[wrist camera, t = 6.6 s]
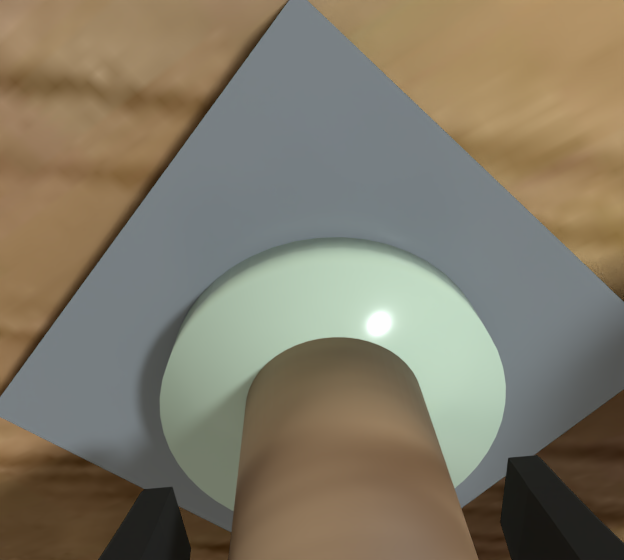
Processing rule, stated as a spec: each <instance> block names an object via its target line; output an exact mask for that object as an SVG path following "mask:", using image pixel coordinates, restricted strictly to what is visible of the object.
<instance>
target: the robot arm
mask: <svg viewBox="0 0 624 560" xmlns="http://www.w3.org/2000/svg"><path fill="white" fill-rule="evenodd" d="M500 523H501V526H502V530H503V533H504V536H505V540H506V543H507V546H508V550H509V553H510V556H511V559H512V560H624V543H623V542H622V541H621V540H620V539H619V538H618V537H617V536H616V535H615V534H614V533H613V532H612V531H611V530H610V529H609V528H608V527H607V526H606V525H604V524H603V523H602V522H601V521H600V520H599V519H598V518H597V517H596V516H595V515H594V514H593V513H592V512H591V511H590V509H589V508H588V507H587V506H586V505H585V504H584V503H583V502H582V501H581V500H580V499H579V498H578V497H577V496H576V495H575V494H574V493H573V492H572V491H571V490H570V489H569V488H568V487H567V486H566V485H565V484H564V483H563V481H562V480H561V479H560V478H559V477H558V476H557V475H556V474H555V473H554V472H553V471H552V470H551V469H550V468H549V467H548V466H547V464H546V463H545V462H544V461H543V460H542V459H541V458H540V457H538V456H537V455H534V456H522V457H510V458H508V463H507V471H506V479H505V488H504V496H503V504H502V512H501V520H500ZM190 552H191V547H190V544H189V541H188V537H187V534H186V530H185V527H184V524H183V520H182V517H181V514H180V510H179V507H178V503H177V500H176V497H175V493H174V490H173V487H163V488H151V489H144V490H143V491H142V492H141V493H140V495H139V496H138V498H137V500H136V501H135V503H134V505H133V506H132V508H131V509H130V511H129V513H128V514H127V516H126V517H125V519H124V521H123V522H122V524H121V525H120V527H119V529H118V530H117V532H116V533H115V535H114V536H113V538H112V539H111V541H110V543H109V544H108V546H107V547H106V549H105V550H104V552H103V553H102V555H101V556H100V558H99V559H98V560H190Z"/></svg>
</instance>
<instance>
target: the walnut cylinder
mask: <svg viewBox="0 0 624 560" xmlns="http://www.w3.org/2000/svg"><path fill="white" fill-rule="evenodd" d="M228 560H479V559H478V556H477V553H476V550H475V547H474V544H473V541H472V539H471V536H470V533H469V530H468V527H467V524H466V521H465V518H464V515H463V512H462V509H461V506H460V503H459V500H458V497H457V494H456V491H455V488H454V486H453V483H452V480H451V477H450V474H449V471H448V468H447V465H446V462H445V459H444V456H443V453H442V450H441V447H440V444H439V441H438V438H437V435H436V433H435V430H434V427H433V424H432V421H431V418H430V415H429V412H428V409H427V406H426V403H425V400H424V397H423V394H422V391H421V388H420V386H419V383H418V380H417V378H416V377H415V375H414V373H413V371H412V370H411V369H410V368H409V366H408V365H407V364H406V363H405V362H404V361H403V360H402V359H401V358H400V357H399V356H397V355H396V354H394V353H393V352H391V351H390V350H388V349H386V348H384V347H382V346H380V345H377V344H375V343H372V342H369V341H365V340H361V339H356V338H347V337H330V338H321V339H316V340H311V341H307V342H304V343H301V344H298V345H295V346H293V347H291V348H289V349H287V350H285V351H283V352H282V353H280V354H279V355H277V356H275V357H274V358H273V359H272V360H271V361H269V362H268V363H267V364H266V365H265V366H264V367H263V368H262V369H261V370H260V371H259V373H258V374H257V376H256V377H255V379H254V380H253V382H252V384H251V386H250V388H249V391H248V395H247V398H246V406H245V415H244V424H243V433H242V441H241V450H240V459H239V468H238V477H237V486H236V495H235V504H234V513H233V522H232V531H231V539H230V548H229V557H228Z"/></svg>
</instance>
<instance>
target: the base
mask: <svg viewBox="0 0 624 560" xmlns="http://www.w3.org/2000/svg"><path fill="white" fill-rule="evenodd" d="M330 337H347V338H356V339H361V340H365V341H369V342H372V343H375V344H377V345H380V346H382V347H384V348H386V349H388V350H390V351H391V352H393V353H394V354H396V355H397V356H399V357H400V358H401V359H402V360H403V361H404V362H405V363H406V364H407V365H408V366H409V368H410V369H411V370H412V371H413V373H414V375H415V377H416V378H417V380H418V383H419V386H420V388H421V391H422V394H423V397H424V400H425V403H426V406H427V409H428V412H429V415H430V418H431V421H432V424H433V427H434V430H435V433H436V435H437V438H438V441H439V444H440V447H441V450H442V453H443V456H444V459H445V462H446V465H447V468H448V471H449V474H450V477H451V480H452V483H453V486H454V488H455V491H456V494H457V497H458V500H459V503H460V506H461V508H462V507H464V506H465V505H466V504H468V503H469V502H470V501H472V500H473V499H475V498H476V497H477V496H479V495H480V494H481V493H483V492H484V491H485V490H487V489H488V488H490V487H491V486H492V485H494V484H495V483H496V482H498V481H499V480H500V479H502V478H503V477H505V476H506V471H507V463H508V458H510V457H522V456H533V455H535V454H536V453H537V452H539V451H540V450H541V449H543V448H544V447H546V446H547V445H548V444H550V443H551V442H552V441H554V440H555V439H556V438H558V437H559V436H561V435H562V434H563V433H565V432H566V431H567V430H569V429H570V428H571V427H573V426H574V425H576V424H577V423H578V422H580V421H581V420H582V419H584V418H585V417H586V416H588V415H589V414H591V413H592V412H593V411H595V410H596V409H597V408H599V407H600V406H602V405H603V404H604V403H606V402H607V401H608V400H610V399H611V398H612V397H614V396H615V395H617V394H618V393H619V392H621V391H622V390H623V389H624V302H623V301H622V300H621V299H620V298H619V297H618V296H617V295H616V294H615V293H614V292H613V291H612V290H611V289H610V288H609V287H608V286H607V285H606V284H605V283H604V282H602V281H601V280H600V279H599V278H598V277H597V276H596V275H595V274H594V273H593V272H592V271H591V270H590V269H589V268H588V267H587V266H586V265H585V264H584V263H583V262H581V261H580V260H579V259H578V258H577V257H576V256H575V255H574V254H573V253H572V252H571V251H570V250H569V249H568V248H567V247H566V246H565V245H564V244H563V243H561V242H560V241H559V240H558V239H557V238H556V237H555V236H554V235H553V234H552V233H551V232H550V231H549V230H548V229H547V228H546V227H545V226H544V225H543V224H542V223H540V222H539V221H538V220H537V219H536V218H535V217H534V216H533V215H532V214H531V213H530V212H529V211H528V210H527V209H526V208H525V207H524V206H523V205H522V204H521V203H519V202H518V201H517V200H516V199H515V198H514V197H513V196H512V195H511V194H510V193H509V192H508V191H507V190H506V189H505V188H504V187H503V186H502V185H501V184H500V183H498V182H497V181H496V180H495V179H494V178H493V177H492V176H491V175H490V174H489V173H488V172H487V171H486V170H485V169H484V168H483V167H482V166H481V165H480V164H479V163H477V162H476V161H475V160H474V159H473V158H472V157H471V156H470V155H469V154H468V153H467V152H466V151H465V150H464V149H463V148H462V147H461V146H460V145H459V144H457V143H456V142H455V141H454V140H453V139H452V138H451V137H450V136H449V135H448V134H447V133H446V132H445V131H444V130H443V129H442V128H441V127H440V126H439V125H438V124H436V123H435V122H434V121H433V120H432V119H431V118H430V117H429V116H428V115H427V114H426V113H425V112H424V111H423V110H422V109H421V108H420V107H419V106H418V105H417V104H415V103H414V102H413V101H412V100H411V99H410V98H409V97H408V96H407V95H406V94H405V93H404V92H403V91H402V90H401V89H400V88H399V87H398V86H397V85H396V84H394V83H393V82H392V81H391V80H390V79H389V78H388V77H387V76H386V75H385V74H384V73H383V72H382V71H381V70H380V69H379V68H378V67H377V66H376V65H375V64H373V63H372V62H371V61H370V60H369V59H368V58H367V57H366V56H365V55H364V54H363V53H362V52H361V51H360V50H359V49H358V48H357V47H356V46H355V45H353V44H352V43H351V42H350V41H349V40H348V39H347V38H346V37H345V36H344V35H343V34H342V33H341V32H340V31H339V30H338V29H337V28H336V27H335V26H334V25H332V24H331V23H330V22H329V21H328V20H327V19H326V18H325V17H324V16H323V15H322V14H321V13H320V12H319V11H318V10H317V9H316V8H315V7H314V6H313V5H311V4H310V3H309V2H308V1H307V0H289V1H288V3H287V4H286V5H285V7H284V8H283V9H282V11H281V12H280V14H279V15H278V16H277V18H276V19H275V20H274V22H273V23H272V25H271V26H270V27H269V29H268V30H267V31H266V33H265V34H264V36H263V37H262V38H261V40H260V41H259V42H258V44H257V45H256V46H255V48H254V49H253V51H252V52H251V53H250V55H249V56H248V57H247V59H246V60H245V62H244V63H243V64H242V66H241V67H240V68H239V70H238V71H237V73H236V74H235V75H234V77H233V78H232V79H231V81H230V82H229V84H228V85H227V86H226V88H225V89H224V90H223V92H222V93H221V95H220V96H219V97H218V99H217V100H216V101H215V103H214V104H213V106H212V107H211V108H210V110H209V111H208V112H207V114H206V115H205V117H204V118H203V119H202V121H201V122H200V123H199V125H198V126H197V127H196V129H195V130H194V132H193V133H192V134H191V136H190V137H189V138H188V140H187V141H186V143H185V144H184V145H183V147H182V148H181V149H180V151H179V152H178V154H177V155H176V156H175V158H174V159H173V160H172V162H171V163H170V165H169V166H168V167H167V169H166V170H165V171H164V173H163V174H162V176H161V177H160V178H159V180H158V181H157V182H156V184H155V185H154V187H153V188H152V189H151V191H150V192H149V193H148V195H147V196H146V198H145V199H144V200H143V202H142V203H141V204H140V206H139V207H138V209H137V210H136V211H135V213H134V214H133V215H132V217H131V218H130V219H129V221H128V222H127V224H126V225H125V226H124V228H123V229H122V230H121V232H120V233H119V235H118V236H117V237H116V239H115V240H114V241H113V243H112V244H111V246H110V247H109V248H108V250H107V251H106V252H105V254H104V255H103V257H102V258H101V259H100V261H99V262H98V263H97V265H96V266H95V268H94V269H93V270H92V272H91V273H90V274H89V276H88V277H87V279H86V280H85V281H84V283H83V284H82V285H81V287H80V288H79V290H78V291H77V292H76V294H75V295H74V296H73V298H72V299H71V301H70V302H69V303H68V305H67V306H66V307H65V309H64V310H63V311H62V313H61V314H60V316H59V317H58V318H57V320H56V321H55V322H54V324H53V325H52V327H51V328H50V329H49V331H48V332H47V333H46V335H45V336H44V338H43V339H42V340H41V342H40V343H39V344H38V346H37V347H36V349H35V350H34V351H33V353H32V354H31V355H30V357H29V358H28V360H27V361H26V362H25V364H24V365H23V366H22V368H21V369H20V371H19V372H18V373H17V375H16V376H15V377H14V379H13V380H12V382H11V383H10V384H9V386H8V387H7V388H6V390H5V391H4V393H3V394H2V395H1V397H0V417H1V418H3V419H5V420H7V421H9V422H11V423H13V424H15V425H17V426H19V427H21V428H23V429H25V430H27V431H29V432H31V433H33V434H35V435H37V436H39V437H41V438H43V439H45V440H47V441H49V442H51V443H53V444H55V445H57V446H59V447H61V448H63V449H65V450H67V451H69V452H71V453H73V454H75V455H77V456H79V457H81V458H83V459H85V460H87V461H89V462H91V463H93V464H95V465H97V466H99V467H101V468H103V469H105V470H107V471H109V472H111V473H113V474H115V475H117V476H119V477H121V478H123V479H125V480H127V481H129V482H131V483H133V484H135V485H137V486H139V487H141V488H143V489H151V488H163V487H173V490H174V493H175V497H176V500H177V503H178V506H179V507H181V508H183V509H185V510H187V511H189V512H191V513H193V514H195V515H197V516H199V517H201V518H203V519H205V520H207V521H209V522H211V523H213V524H215V525H217V526H219V527H221V528H223V529H225V530H227V531H229V532H231V531H232V522H233V513H234V504H235V495H236V486H237V477H238V468H239V459H240V450H241V441H242V433H243V424H244V415H245V406H246V398H247V395H248V391H249V388H250V386H251V384H252V382H253V380H254V379H255V377H256V376H257V374H258V373H259V371H260V370H261V369H262V368H263V367H264V366H265V365H266V364H267V363H268V362H269V361H271V360H272V359H273V358H274V357H275V356H277V355H279V354H280V353H282V352H283V351H285V350H287V349H289V348H291V347H293V346H295V345H298V344H301V343H304V342H307V341H311V340H316V339H321V338H330Z"/></svg>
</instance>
